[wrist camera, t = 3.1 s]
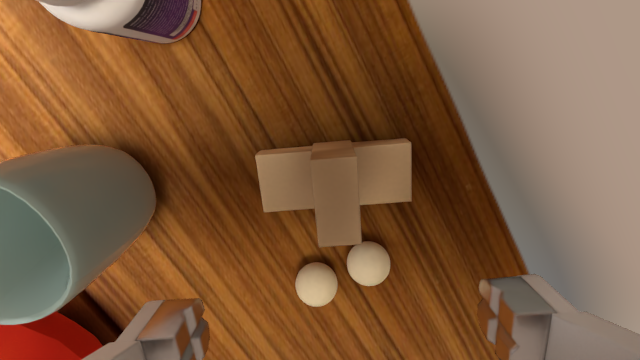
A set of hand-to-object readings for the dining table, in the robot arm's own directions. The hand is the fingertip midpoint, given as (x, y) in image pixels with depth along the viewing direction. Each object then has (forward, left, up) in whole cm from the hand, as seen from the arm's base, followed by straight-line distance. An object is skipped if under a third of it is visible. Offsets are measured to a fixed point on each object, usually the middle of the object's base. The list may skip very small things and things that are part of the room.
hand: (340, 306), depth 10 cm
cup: (+16, 0, -15) cm, 22 cm away
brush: (0, 0, -15) cm, 15 cm away
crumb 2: (-2, +7, -13) cm, 15 cm away
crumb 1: (+2, +9, -13) cm, 16 cm away
